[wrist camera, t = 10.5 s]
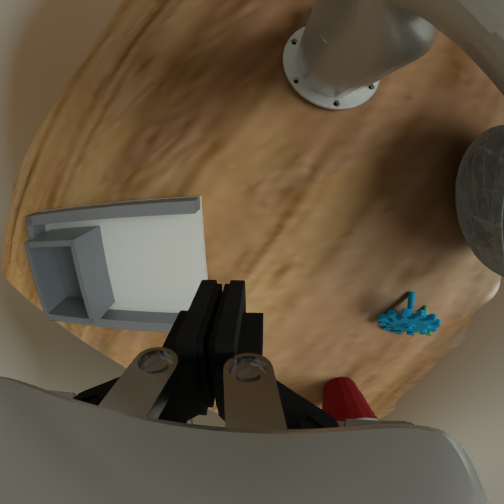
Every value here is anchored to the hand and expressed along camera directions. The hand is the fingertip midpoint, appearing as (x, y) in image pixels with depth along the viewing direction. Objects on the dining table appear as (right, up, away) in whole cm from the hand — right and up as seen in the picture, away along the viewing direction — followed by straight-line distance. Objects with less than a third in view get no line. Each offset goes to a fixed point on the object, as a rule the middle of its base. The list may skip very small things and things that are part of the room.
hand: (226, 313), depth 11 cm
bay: (-19, +1, +28) cm, 34 cm away
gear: (+25, -7, +30) cm, 39 cm away
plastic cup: (+17, -22, +35) cm, 45 cm away
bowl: (+36, +12, +22) cm, 45 cm away
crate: (-25, 0, +27) cm, 37 cm away
